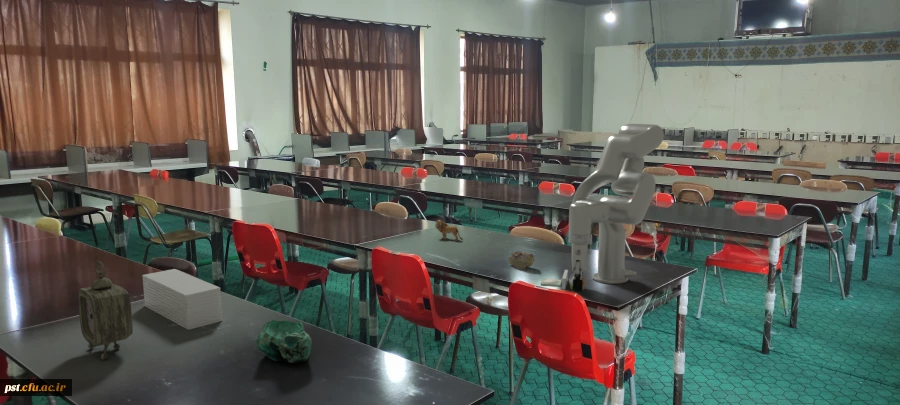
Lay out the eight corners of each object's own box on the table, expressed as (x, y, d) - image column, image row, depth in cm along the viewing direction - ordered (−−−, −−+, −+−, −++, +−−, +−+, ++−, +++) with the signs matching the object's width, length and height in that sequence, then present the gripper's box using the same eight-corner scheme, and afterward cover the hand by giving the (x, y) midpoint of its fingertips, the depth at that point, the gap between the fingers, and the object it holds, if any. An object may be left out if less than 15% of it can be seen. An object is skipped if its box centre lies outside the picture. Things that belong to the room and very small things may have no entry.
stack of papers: (144, 306, 212) (142, 274, 210) (177, 299, 219) (175, 268, 217) (188, 330, 190) (185, 295, 188) (222, 321, 197) (220, 287, 196)
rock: (534, 257, 251) (536, 248, 260) (504, 256, 253) (508, 246, 263) (534, 274, 253) (536, 264, 262) (505, 272, 255) (509, 262, 265)
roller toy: (567, 288, 230) (567, 272, 229) (584, 287, 231) (584, 271, 230) (571, 291, 226) (572, 275, 225) (588, 290, 227) (589, 274, 226)
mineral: (333, 359, 168) (332, 322, 166) (281, 378, 156) (279, 339, 155) (291, 341, 180) (290, 307, 178) (240, 358, 168) (238, 322, 167)
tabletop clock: (82, 348, 175) (73, 259, 171) (118, 339, 182) (110, 253, 178) (99, 363, 165) (90, 269, 161) (136, 354, 172) (128, 262, 168)
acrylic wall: (567, 280, 240) (568, 270, 239) (565, 289, 228) (565, 278, 228) (564, 280, 240) (564, 269, 240) (561, 289, 229) (562, 278, 228)
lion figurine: (433, 238, 312) (433, 220, 310) (438, 236, 317) (438, 218, 315) (460, 241, 305) (460, 223, 304) (465, 239, 310) (465, 221, 309)
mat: (561, 281, 239) (561, 279, 239) (560, 286, 232) (560, 284, 232) (542, 279, 241) (542, 278, 241) (540, 285, 234) (540, 283, 234)
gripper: (589, 244, 216) (587, 296, 219) (591, 233, 233) (589, 282, 236) (566, 242, 218) (565, 294, 221) (570, 232, 235) (569, 280, 237)
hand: (578, 287), depth 228 cm, fingers closed on roller toy, 5 cm apart
